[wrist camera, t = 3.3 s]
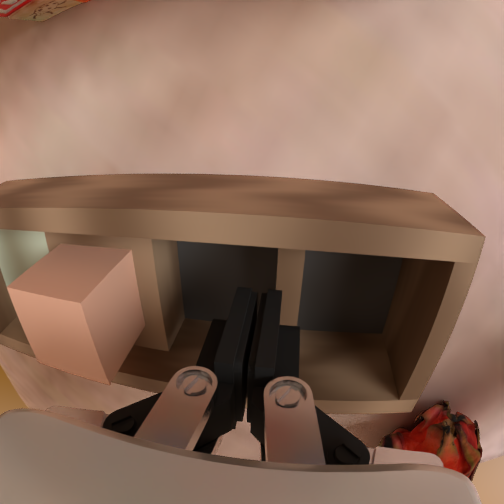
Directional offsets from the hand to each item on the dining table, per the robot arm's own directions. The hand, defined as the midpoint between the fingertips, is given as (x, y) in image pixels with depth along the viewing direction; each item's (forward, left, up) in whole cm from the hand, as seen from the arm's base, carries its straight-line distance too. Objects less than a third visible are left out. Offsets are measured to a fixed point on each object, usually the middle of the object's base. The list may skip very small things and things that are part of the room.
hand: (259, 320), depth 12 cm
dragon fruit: (-13, +14, -4) cm, 19 cm away
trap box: (+4, 0, -4) cm, 6 cm away
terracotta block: (+7, 0, -1) cm, 8 cm away
